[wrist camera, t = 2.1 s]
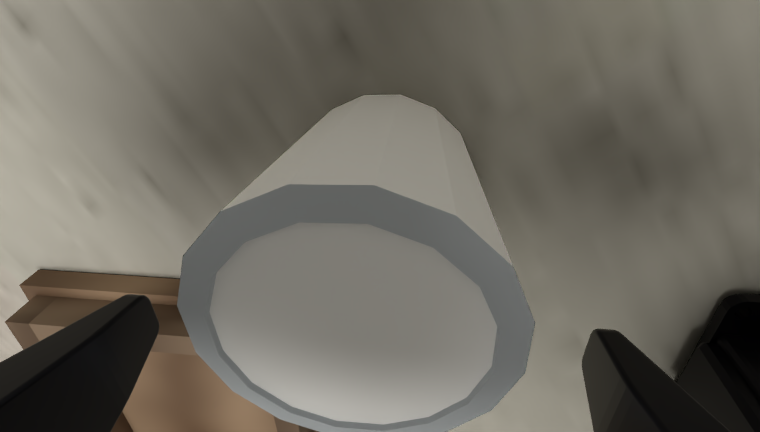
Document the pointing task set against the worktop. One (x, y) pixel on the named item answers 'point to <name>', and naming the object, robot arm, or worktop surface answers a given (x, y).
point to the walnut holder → (164, 363)
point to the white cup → (361, 280)
